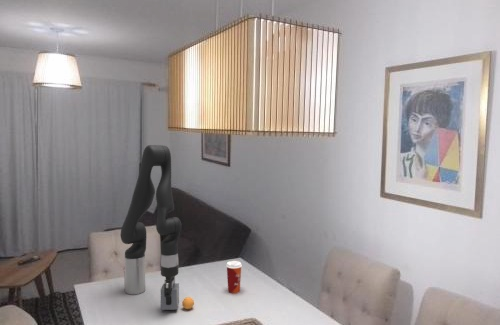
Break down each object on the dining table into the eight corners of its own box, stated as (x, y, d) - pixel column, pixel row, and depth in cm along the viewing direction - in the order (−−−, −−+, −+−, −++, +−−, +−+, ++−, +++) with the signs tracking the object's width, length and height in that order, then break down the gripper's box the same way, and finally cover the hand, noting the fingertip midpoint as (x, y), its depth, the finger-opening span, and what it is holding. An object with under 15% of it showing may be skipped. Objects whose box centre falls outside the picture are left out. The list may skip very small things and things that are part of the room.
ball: (179, 309, 172) (179, 298, 171) (188, 305, 176) (188, 294, 175) (188, 312, 169) (188, 301, 168) (196, 308, 173) (196, 297, 172)
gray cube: (160, 309, 168) (160, 289, 167) (163, 302, 174) (163, 283, 174) (176, 309, 168) (176, 289, 167) (179, 302, 175) (178, 283, 174)
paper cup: (239, 295, 187) (240, 266, 186) (224, 293, 188) (224, 265, 187) (243, 288, 194) (243, 260, 193) (228, 287, 196) (228, 259, 195)
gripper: (163, 258, 177) (164, 294, 178) (157, 269, 162) (158, 308, 164) (180, 258, 177) (180, 294, 178) (175, 269, 163) (176, 308, 164)
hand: (170, 300), depth 171 cm, fingers closed on gray cube, 7 cm apart
